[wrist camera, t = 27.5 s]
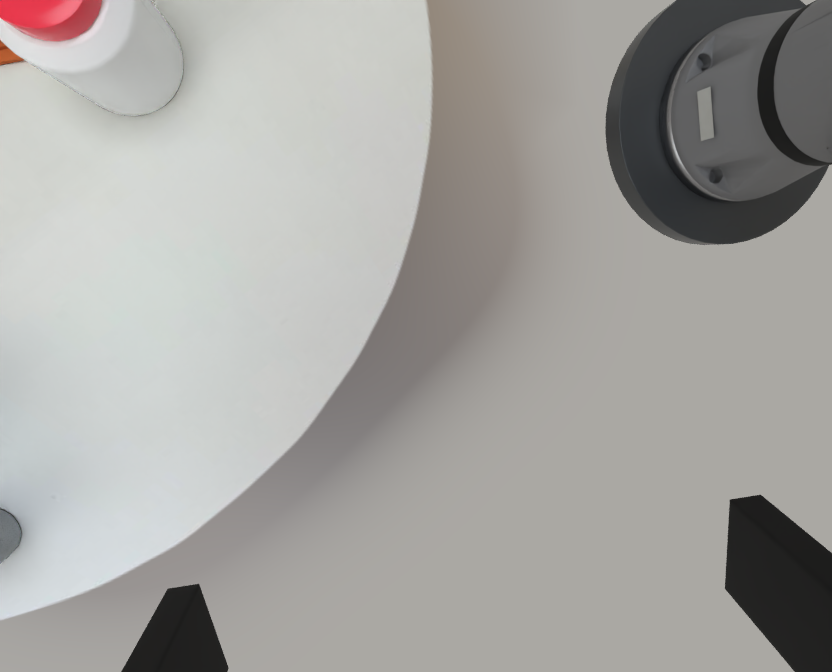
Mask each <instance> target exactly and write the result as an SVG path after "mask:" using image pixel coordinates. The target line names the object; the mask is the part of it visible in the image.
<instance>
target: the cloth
mask: <svg viewBox="0 0 832 672" xmlns="http://www.w3.org/2000/svg"><path fill="white" fill-rule="evenodd" d="M18 61H24V59H22V58H21V57H19V56H17V55H16V54H15V53H14V52H12V51H11V50H10V49H9V48H8V47H7V46H6V45H5V44H4V43H2V41H1V40H0V65H2V64H8V63H13V62H18Z"/></svg>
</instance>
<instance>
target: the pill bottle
mask: <svg viewBox="0 0 832 672" xmlns="http://www.w3.org/2000/svg"><path fill="white" fill-rule="evenodd" d="M0 40H1V41H2V43H4V44H5V45H6V46H7V47H8V48H9V49H10V50H11V51H12V52H14V53H15V54H16V55H17V56H19V57H21V58H22V59H24V60H25V61H27V62H28V63H30V64H31V65H33V66H35V67H36V68H38V69H40V70H41V71H43V72H44V73H46V74H48V75H49V76H51V77H52V78H54V79H56V80H57V81H59V82H61V83H62V84H64V85H65V86H67V87H69V88H70V89H72V90H74V91H75V92H77V93H78V94H80V95H82V96H83V97H85V98H87V99H88V100H90V101H91V102H93V103H95V104H96V105H98V106H99V107H101V108H103V109H105V110H108V111H110V112H113V113H116V114H121V115H125V116H139V115H145V114H149V113H151V112H154V111H157V110H158V109H160V108H161V107H163V106H164V105H166V104H167V103H168V102H169V101H170V100H171V99H172V98H173V97H174V95H175V93H176V92H177V90H178V88H179V86H180V83H181V80H182V76H183V67H184V64H183V54H182V50H181V46H180V43H179V41H178V39H177V37H176V34H175V32H174V31H173V29H172V28H171V27H170V25H169V24H168V22H167V21H166V20H165V18H164V17H163V15H162V14H161V13H160V11H159V10H158V9H157V7H156V6H155V5H154V3H153V2H152V1H151V0H0Z"/></svg>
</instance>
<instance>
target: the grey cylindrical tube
mask: <svg viewBox="0 0 832 672" xmlns="http://www.w3.org/2000/svg"><path fill="white" fill-rule="evenodd" d="M20 539H21V530H20V527H19V524H18V523H17V521H16V520H15V518H14V517H12V516H11V515H10V514H9V513H7V512H5V511H3V510H1V509H0V564H1V563H2V562H3V561H4V560H5V559H6V558H7V557H8V556H9V555H10V554H11V553H12V552H13V551H14V550H15V549H16V548H17V546H18V545H19V542H20Z"/></svg>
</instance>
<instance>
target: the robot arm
mask: <svg viewBox="0 0 832 672" xmlns="http://www.w3.org/2000/svg"><path fill="white" fill-rule="evenodd" d="M660 136H661V141H662V146H663V149H664V153H665V155H666V158H667V160H668V162H669V164H670V166H671V168H672V170H673V171H674V173H675V174H676V176H677V177H678V178H679V180H680V181H681V182H682V183H683V184H684V185H685V186H686V187H688V188H689V189H690V190H691V191H693V192H694V193H696V194H698V195H699V196H701V197H704V198H706V199H709V200H713V201H717V202H739V201H747V200H753V199H757V198H760V197H764V196H766V195H769V194H771V193H774V192H776V191H778V190H780V189H782V188H784V187H786V186H787V185H789V184H791V183H793V182H795V181H797V180H799V179H800V178H802V177H804V176H806V175H808V174H810V173H812V172H814V171H815V170H817V169H819V168H821V167H823V166H826V165H831V164H832V0H816V1H814V2H812V3H810V4H808V5H807V6H805V7H803V8H800V9H794V10H788V11H782V12H775V13H769V14H763V15H757V16H751V17H746V18H742V19H739V20H736V21H732V22H730V23H727V24H725V25H723V26H721V27H719V28H717V29H715V30H714V31H712V32H710V33H709V34H707V35H705V36H704V37H702V38H701V39H699V40H698V41H697V42H696V43H694V44H693V45H692V46H691V47H690V48H689V49H688V50H687V51H686V52H685V53H684V54H683V56H682V57H681V58H680V59H679V61H678V62H677V64H676V65H675V67H674V69H673V71H672V72H671V74H670V76H669V79H668V81H667V84H666V86H665V89H664V93H663V97H662V101H661V107H660ZM729 510H730V511H729V526H728V545H727V563H726V580H725V589H726V590H727V592H728V593H729V594H730V595H731V596H732V597H733V599H734V600H735V601H736V602H737V603H738V605H739V606H740V607H741V608H742V609H743V610H744V612H745V613H746V614H747V615H748V616H749V618H750V619H751V620H752V621H753V623H754V624H755V625H756V626H757V627H758V628H759V630H760V631H761V632H762V633H763V634H764V635H765V637H766V638H767V639H768V640H769V642H770V643H771V644H772V645H773V646H774V647H775V648H776V650H777V651H778V652H779V653H780V655H781V656H782V657H783V658H784V659H785V660H786V662H787V663H788V664H789V665H790V667H791V668H792V669H793V670H794V671H795V672H832V553H831V552H830V551H828V550H827V549H826V548H825V547H824V546H822V545H821V544H820V543H819V542H818V541H816V540H815V539H814V538H813V537H811V536H810V535H809V534H808V533H806V532H805V531H804V530H803V529H802V528H800V527H799V526H798V525H797V524H796V523H794V522H793V521H792V520H791V519H790V518H788V517H787V516H786V515H785V514H783V513H782V512H781V511H780V510H779V509H777V508H776V507H775V506H774V505H772V504H771V503H770V502H769V501H767V500H766V499H765V498H764V497H763V496H761V495H757V496H750V497H744V498H738V499H731V500H730V508H729ZM227 671H228V665H227V662H226V659H225V657H224V654H223V651H222V648H221V645H220V643H219V640H218V637H217V634H216V631H215V629H214V626H213V622H212V620H211V617H210V614H209V611H208V608H207V606H206V603H205V600H204V597H203V594H202V591H201V588H200V586H199V584H195V585H189V586H183V587H177V588H170V589H167V591H166V593H165V595H164V597H163V598H162V600H161V602H160V604H159V605H158V607H157V609H156V611H155V613H154V615H153V616H152V618H151V620H150V622H149V623H148V625H147V627H146V629H145V631H144V632H143V634H142V636H141V638H140V639H139V641H138V643H137V645H136V647H135V648H134V650H133V652H132V654H131V656H130V657H129V659H128V661H127V663H126V665H125V666H124V668H123V670H122V672H227Z"/></svg>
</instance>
